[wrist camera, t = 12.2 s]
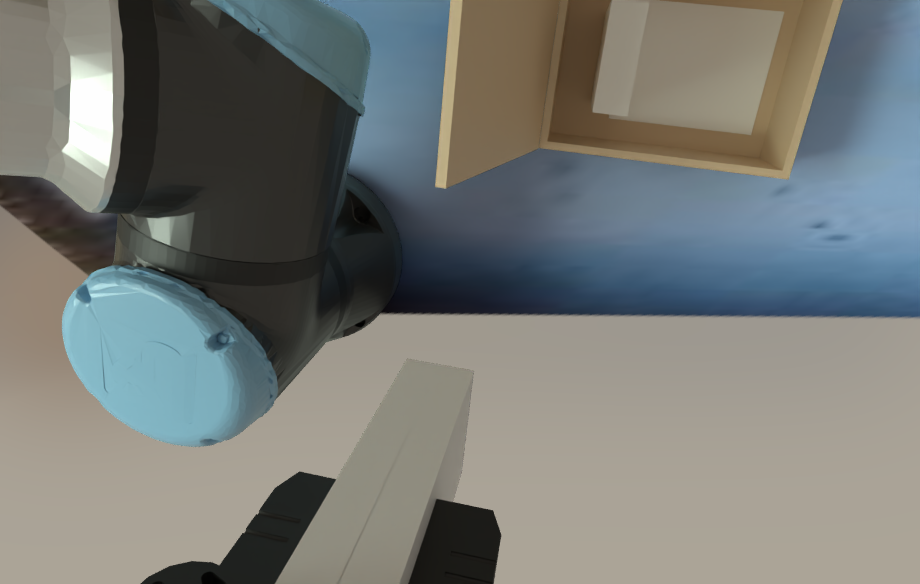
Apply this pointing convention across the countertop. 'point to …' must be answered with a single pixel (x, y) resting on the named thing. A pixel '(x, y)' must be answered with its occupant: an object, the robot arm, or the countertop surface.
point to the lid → (493, 84)
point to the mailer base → (687, 80)
